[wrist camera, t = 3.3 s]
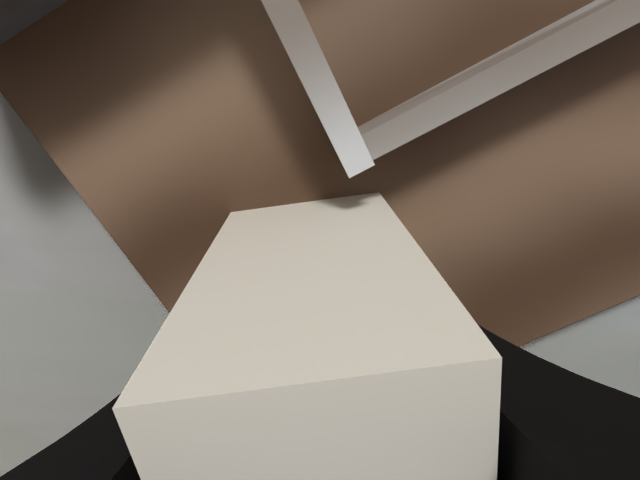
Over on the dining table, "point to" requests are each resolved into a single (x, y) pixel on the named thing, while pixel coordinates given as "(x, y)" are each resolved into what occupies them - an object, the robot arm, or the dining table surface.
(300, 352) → the cream carton
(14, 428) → the dining table surface
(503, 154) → the walnut shelf
